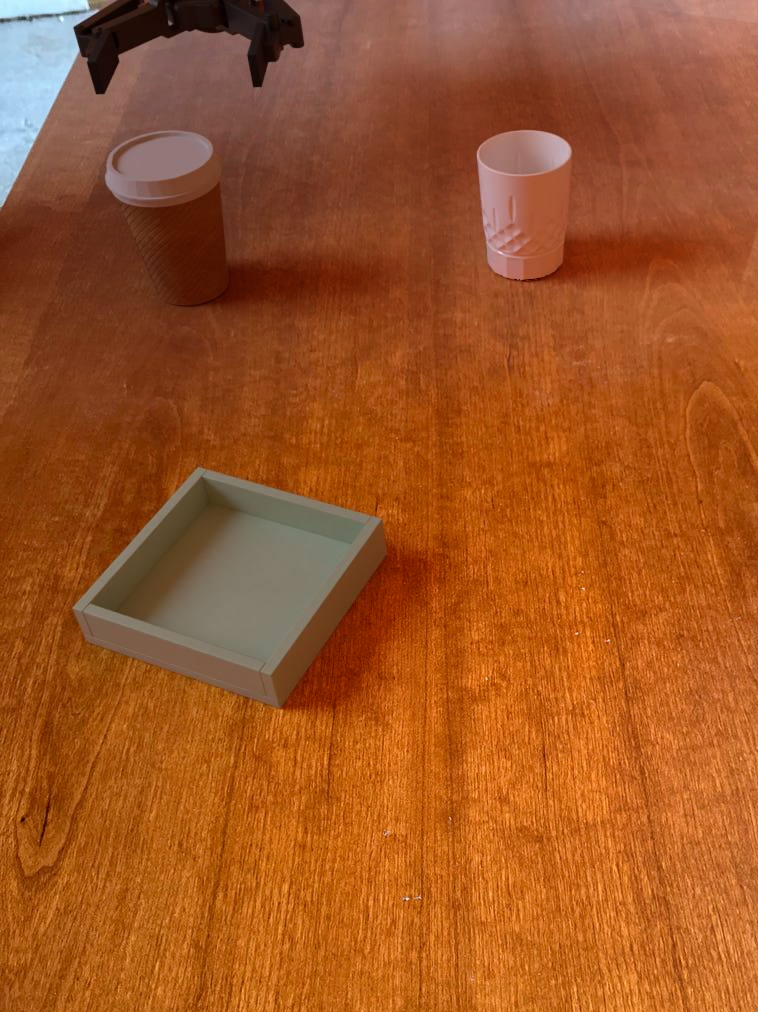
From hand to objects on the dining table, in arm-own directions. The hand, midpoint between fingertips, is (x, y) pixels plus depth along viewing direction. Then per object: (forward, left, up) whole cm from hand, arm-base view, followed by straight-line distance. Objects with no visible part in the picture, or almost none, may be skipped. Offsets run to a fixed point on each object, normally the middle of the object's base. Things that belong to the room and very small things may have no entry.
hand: (174, 75), depth 100 cm
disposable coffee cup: (+4, -9, -14) cm, 17 cm away
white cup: (+30, +5, -14) cm, 34 cm away
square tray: (+28, -40, -14) cm, 51 cm away
